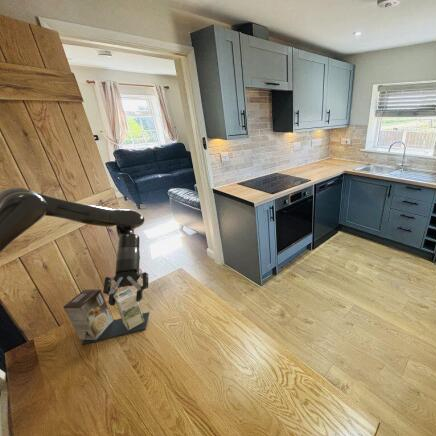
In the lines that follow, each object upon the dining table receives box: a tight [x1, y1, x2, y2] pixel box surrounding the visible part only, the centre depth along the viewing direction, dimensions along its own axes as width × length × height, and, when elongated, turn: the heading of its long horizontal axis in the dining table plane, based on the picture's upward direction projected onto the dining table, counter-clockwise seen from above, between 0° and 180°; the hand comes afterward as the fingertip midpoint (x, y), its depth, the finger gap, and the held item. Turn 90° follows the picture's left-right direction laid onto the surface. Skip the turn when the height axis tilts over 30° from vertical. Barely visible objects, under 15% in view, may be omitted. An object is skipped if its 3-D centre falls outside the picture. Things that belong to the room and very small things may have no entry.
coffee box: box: [63, 288, 114, 340], centre depth 88 cm, size 9×6×16 cm
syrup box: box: [113, 287, 144, 330], centre depth 90 cm, size 6×6×14 cm
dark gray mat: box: [81, 311, 150, 346], centre depth 92 cm, size 20×9×1 cm, turn 111°
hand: (125, 303), depth 87 cm, fingers closed on syrup box, 8 cm apart
